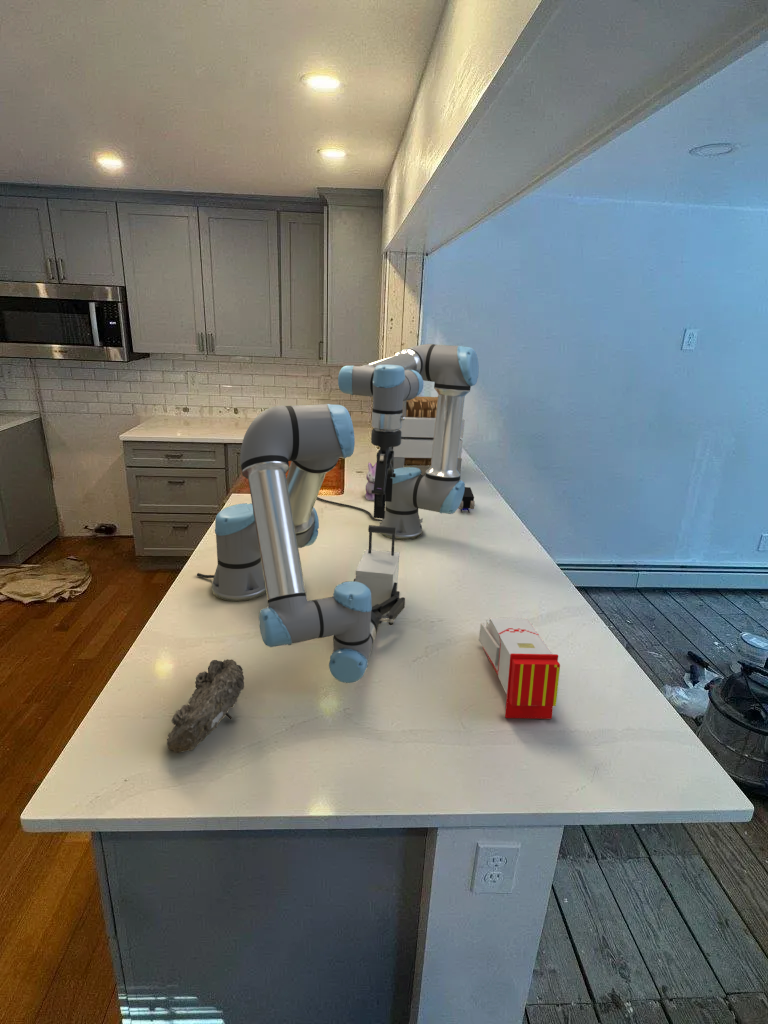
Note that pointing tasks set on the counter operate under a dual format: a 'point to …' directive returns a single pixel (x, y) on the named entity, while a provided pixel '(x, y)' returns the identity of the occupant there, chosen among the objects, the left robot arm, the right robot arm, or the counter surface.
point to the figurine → (370, 481)
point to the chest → (379, 587)
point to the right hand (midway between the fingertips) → (383, 509)
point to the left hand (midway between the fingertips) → (375, 585)
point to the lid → (379, 557)
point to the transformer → (419, 433)
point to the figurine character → (467, 500)
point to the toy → (522, 666)
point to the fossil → (206, 705)
